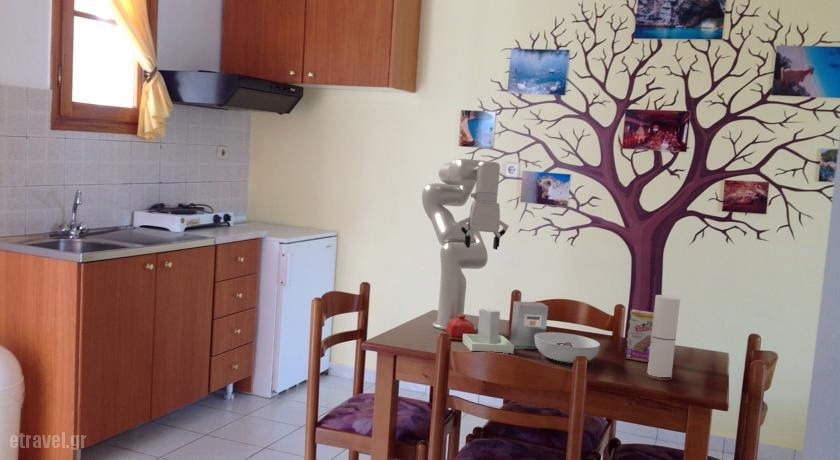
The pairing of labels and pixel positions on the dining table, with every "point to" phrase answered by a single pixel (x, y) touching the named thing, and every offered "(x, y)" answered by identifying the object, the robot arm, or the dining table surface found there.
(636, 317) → the candy bar box
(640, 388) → the dining table surface
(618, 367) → the dining table surface
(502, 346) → the tray
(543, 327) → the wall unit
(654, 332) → the cylindrical container
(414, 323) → the dining table surface
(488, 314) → the skincare box
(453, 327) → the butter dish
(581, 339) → the serving bowl
